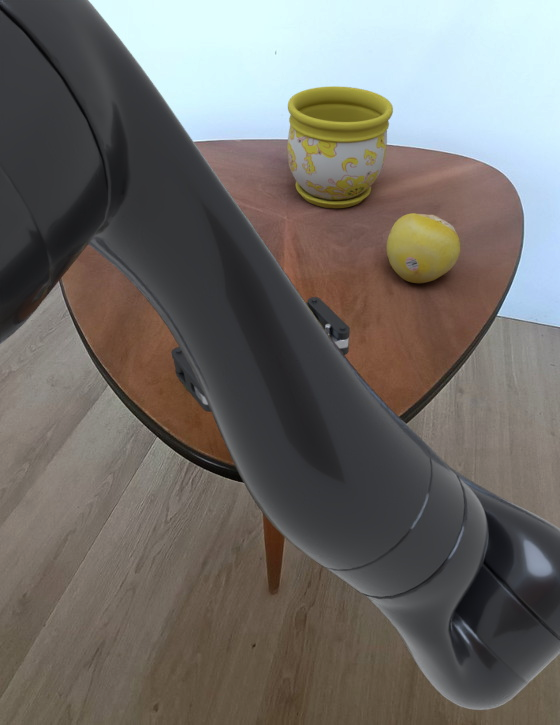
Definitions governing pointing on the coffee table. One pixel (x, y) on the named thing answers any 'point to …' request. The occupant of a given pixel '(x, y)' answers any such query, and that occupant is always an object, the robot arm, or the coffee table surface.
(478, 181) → the coffee table surface
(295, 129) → the flowerpot
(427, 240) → the fruit
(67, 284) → the coffee table surface
